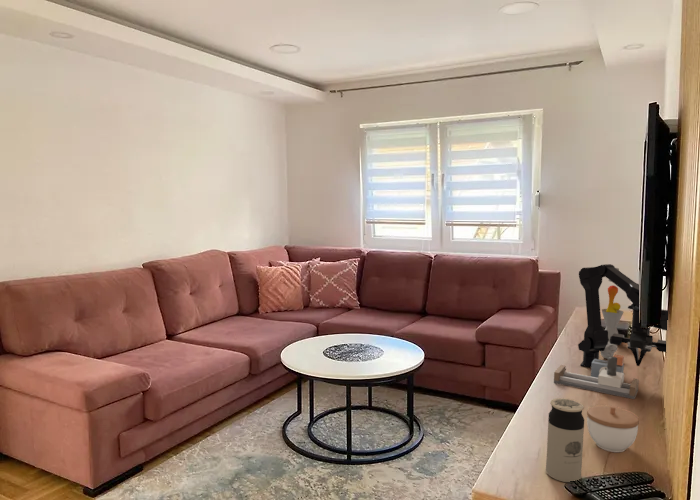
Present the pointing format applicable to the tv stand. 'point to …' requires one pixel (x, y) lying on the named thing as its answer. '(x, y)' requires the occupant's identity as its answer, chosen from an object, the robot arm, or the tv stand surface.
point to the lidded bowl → (612, 427)
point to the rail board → (594, 383)
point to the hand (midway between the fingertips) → (638, 365)
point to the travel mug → (565, 440)
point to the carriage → (611, 374)
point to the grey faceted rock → (609, 350)
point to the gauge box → (602, 367)
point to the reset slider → (619, 359)
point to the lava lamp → (612, 312)
